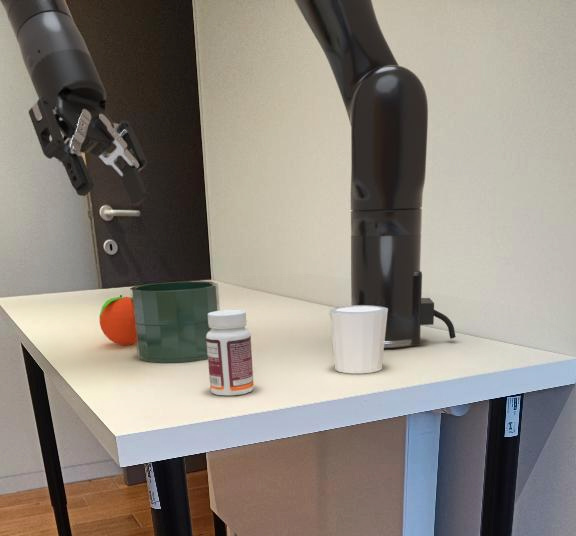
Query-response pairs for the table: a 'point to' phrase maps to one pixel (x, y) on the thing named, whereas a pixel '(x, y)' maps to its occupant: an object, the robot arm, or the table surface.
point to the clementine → (118, 320)
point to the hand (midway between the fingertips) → (114, 196)
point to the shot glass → (358, 338)
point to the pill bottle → (229, 353)
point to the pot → (173, 319)
